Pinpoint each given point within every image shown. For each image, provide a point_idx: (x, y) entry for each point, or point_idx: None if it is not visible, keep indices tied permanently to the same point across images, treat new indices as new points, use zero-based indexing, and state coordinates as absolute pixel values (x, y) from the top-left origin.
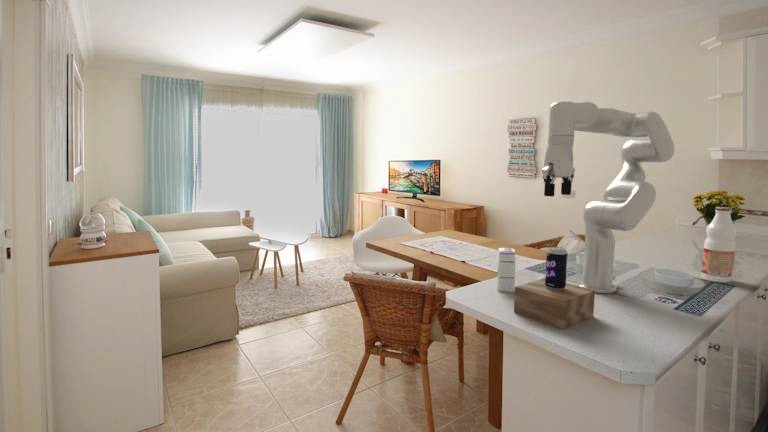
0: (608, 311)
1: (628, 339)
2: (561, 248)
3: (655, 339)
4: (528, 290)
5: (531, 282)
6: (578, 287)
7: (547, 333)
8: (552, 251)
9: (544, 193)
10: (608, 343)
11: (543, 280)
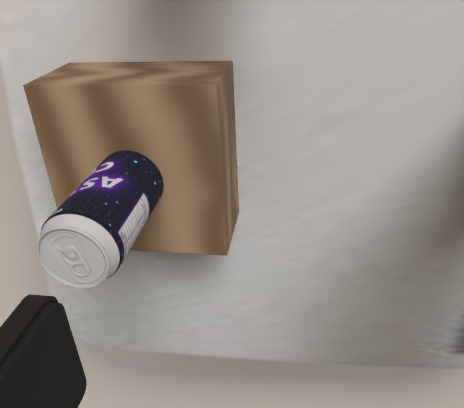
0: (311, 219)
1: (176, 299)
2: (100, 262)
3: (221, 326)
4: (38, 137)
5: (114, 89)
6: (209, 216)
7: (51, 194)
8: (41, 252)
9: (14, 314)
10: (124, 284)
11: (177, 101)
